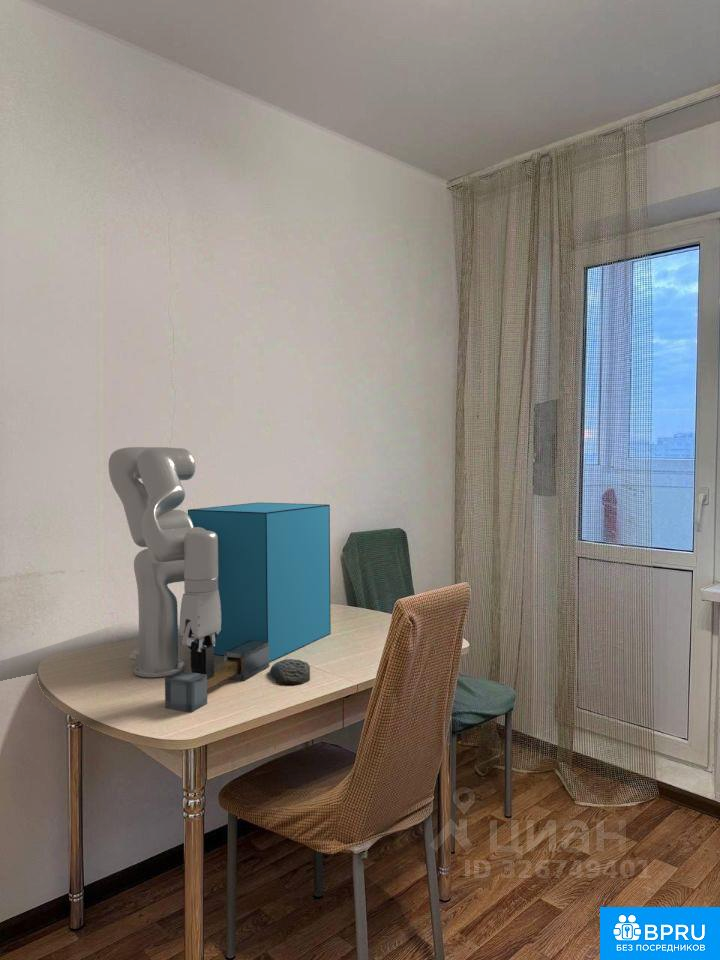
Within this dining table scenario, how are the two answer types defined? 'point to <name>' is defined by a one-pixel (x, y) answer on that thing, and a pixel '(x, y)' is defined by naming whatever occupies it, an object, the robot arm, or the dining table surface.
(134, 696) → the dining table surface
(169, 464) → the robot arm
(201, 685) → the socket
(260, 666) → the sleeve
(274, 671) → the fossil
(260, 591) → the box
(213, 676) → the tan bar piece
